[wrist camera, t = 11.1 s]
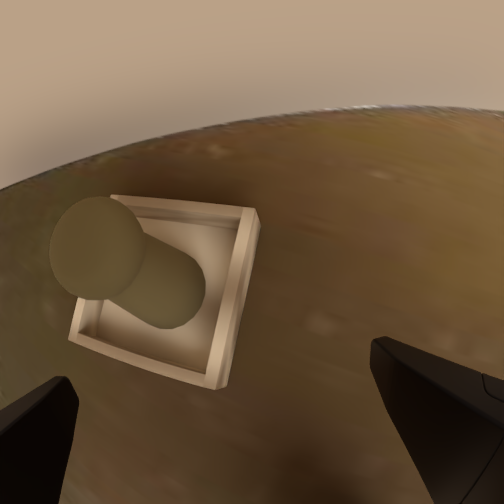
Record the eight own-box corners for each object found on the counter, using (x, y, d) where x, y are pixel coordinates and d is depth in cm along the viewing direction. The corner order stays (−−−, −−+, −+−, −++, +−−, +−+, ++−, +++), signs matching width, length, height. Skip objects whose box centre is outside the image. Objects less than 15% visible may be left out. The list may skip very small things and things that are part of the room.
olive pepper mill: (186, 236, 25) (112, 155, 14) (220, 305, 22) (148, 257, 12) (122, 273, 24) (26, 219, 14) (149, 343, 22) (44, 323, 12)
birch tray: (226, 386, 21) (215, 390, 18) (90, 343, 24) (68, 339, 21) (261, 225, 24) (255, 208, 22) (128, 210, 27) (111, 194, 24)
